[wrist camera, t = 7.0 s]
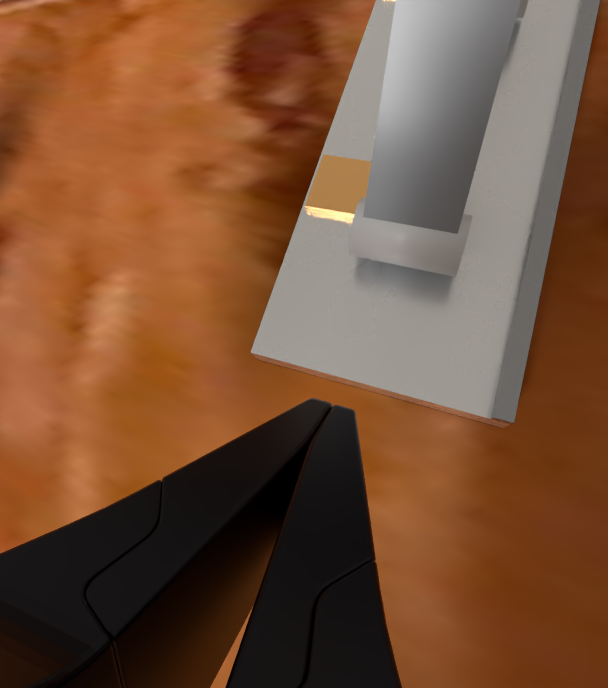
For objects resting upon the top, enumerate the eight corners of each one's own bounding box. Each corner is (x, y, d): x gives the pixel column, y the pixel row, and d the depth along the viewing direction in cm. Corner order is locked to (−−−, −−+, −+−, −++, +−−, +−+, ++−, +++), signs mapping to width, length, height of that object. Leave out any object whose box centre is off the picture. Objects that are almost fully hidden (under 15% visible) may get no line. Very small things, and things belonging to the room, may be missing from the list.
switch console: (502, 427, 15) (514, 423, 14) (257, 359, 17) (247, 349, 16) (595, -15, 19) (610, -51, 18) (392, -23, 22) (392, -56, 20)
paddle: (453, 286, 14) (667, -468, 7) (346, 263, 15) (441, -426, 8) (457, 265, 16) (635, -366, 9) (359, 245, 17) (449, -341, 10)
